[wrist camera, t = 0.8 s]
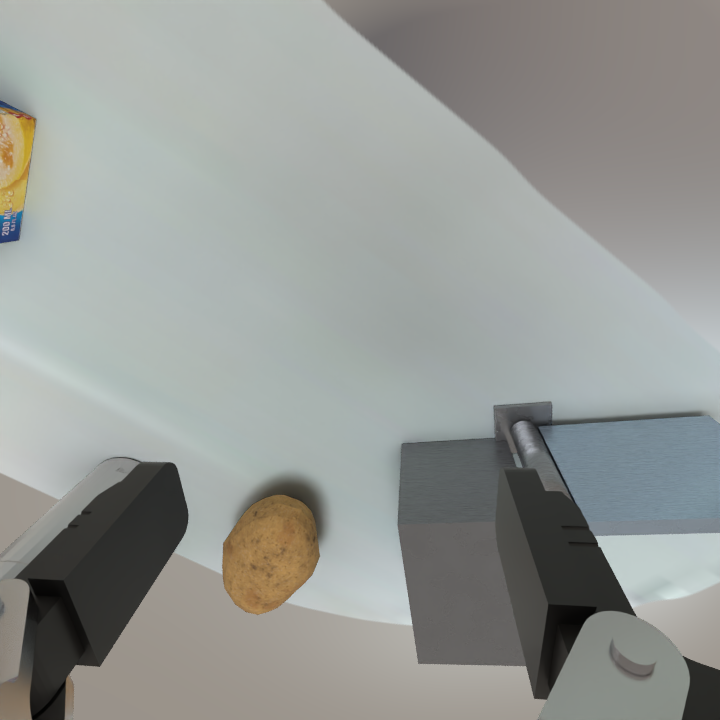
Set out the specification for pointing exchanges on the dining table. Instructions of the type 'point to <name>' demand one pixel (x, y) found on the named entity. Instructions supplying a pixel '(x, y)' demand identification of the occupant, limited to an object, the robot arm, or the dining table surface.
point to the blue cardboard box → (14, 168)
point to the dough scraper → (631, 472)
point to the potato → (270, 553)
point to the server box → (460, 544)
